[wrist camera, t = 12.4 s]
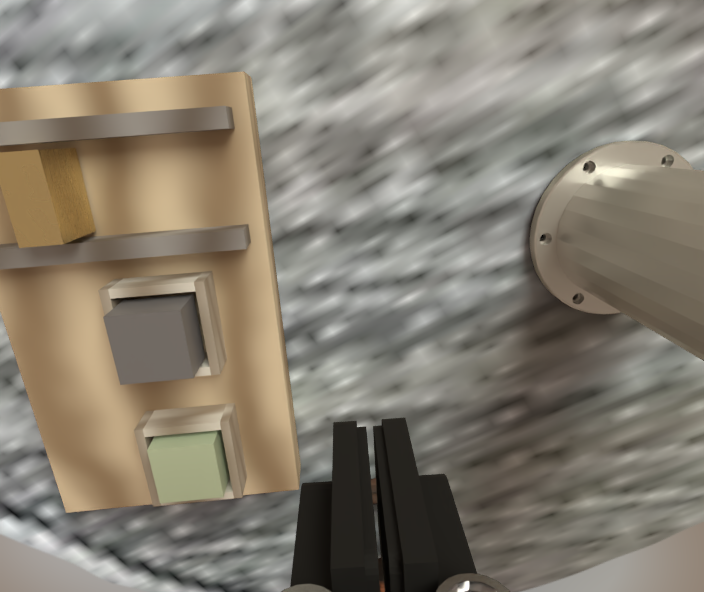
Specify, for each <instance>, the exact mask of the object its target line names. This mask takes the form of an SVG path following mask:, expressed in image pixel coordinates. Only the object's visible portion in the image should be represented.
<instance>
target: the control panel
mask: <svg viewBox="0 0 704 592" xmlns="http://www.w3.org/2000/svg"><path fill="white" fill-rule="evenodd" d="M62 148H76V151H77V155H78V159H79V163H80V167H81V172H82V176H83V180H84V184H85V188H86V192H87V196H88V200H89V204H90V208H91V212H92V216H93V220H94V225H95V229H96V231H94V232H92V233H90V234H87V235H85V236H82V237H80V238H78V239H75V240H73V241H70V242H68V243H66V244H62V245H50V246H38V247H25V248H19V246H18V243H17V239H16V236H15V233H14V229H13V226H12V223H11V219H10V216H9V213H8V209H7V206H6V203H5V199H4V196H3V193H2V189H1V186H0V312H1V315H2V318H3V321H4V324H5V327H6V330H7V333H8V336H9V339H10V342H11V345H12V348H13V351H14V354H15V357H16V360H17V363H18V366H19V370H20V373H21V376H22V379H23V382H24V385H25V388H26V391H27V394H28V397H29V400H30V403H31V406H32V409H33V412H34V415H35V418H36V421H37V424H38V428H39V431H40V434H41V437H42V440H43V443H44V446H45V449H46V452H47V455H48V458H49V461H50V464H51V467H52V470H53V473H54V476H55V479H56V482H57V485H58V489H59V492H60V495H61V498H62V501H63V504H64V507H65V510H66V513H69V512H79V511H89V510H99V509H109V508H119V507H129V506H139V505H149V504H153V507H154V506H164V505H174V504H184V503H194V502H203V501H213V500H223V499H233V498H242V497H243V495H249V494H259V493H269V492H279V491H289V490H299V482H300V466H301V464H300V456H299V448H298V440H297V432H296V425H295V417H294V409H293V401H292V393H291V385H290V377H289V370H288V362H287V354H286V346H285V338H284V330H283V322H282V315H281V307H280V299H279V291H278V283H277V275H276V267H275V260H274V252H273V244H272V236H271V228H270V220H269V212H268V205H267V197H266V189H265V181H264V173H263V165H262V157H261V150H260V142H259V134H258V126H257V118H256V110H255V102H254V95H253V87H252V79H251V77H250V76H249V75H248V74H246V73H245V72H233V73H219V74H205V75H191V76H176V77H162V78H148V79H134V80H120V81H106V82H92V83H78V84H64V85H50V86H36V87H22V88H7V89H0V152H14V151H27V150H41V149H62ZM189 294H194V300H195V305H196V310H197V316H198V321H199V326H200V332H201V337H202V342H203V348H204V353H205V358H204V360H203V362H202V364H201V366H200V367H199V369H198V371H197V373H196V375H195V377H194V378H190V379H180V380H169V381H158V382H147V383H136V384H125V385H120V382H119V378H118V374H117V370H116V366H115V362H114V358H113V354H112V350H111V346H110V342H109V339H108V335H107V331H106V327H105V323H104V319H103V317H104V316H105V315H106V314H107V313H109V312H110V311H111V310H112V309H113V308H115V307H116V306H117V305H118V304H119V303H121V302H122V301H123V300H130V299H142V298H154V297H165V296H177V295H189ZM215 430H221V431H222V437H223V442H224V447H225V453H226V458H227V463H228V469H229V474H230V476H229V480H228V483H227V487H226V491H225V494H224V497H220V498H210V499H200V500H190V501H180V502H170V503H160V501H159V497H158V493H157V489H156V485H155V481H154V477H153V473H152V469H151V465H150V461H149V457H148V453H147V449H148V447H149V446H150V444H151V442H152V440H153V438H154V437H155V436H162V435H173V434H183V433H194V432H204V431H215Z"/></svg>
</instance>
